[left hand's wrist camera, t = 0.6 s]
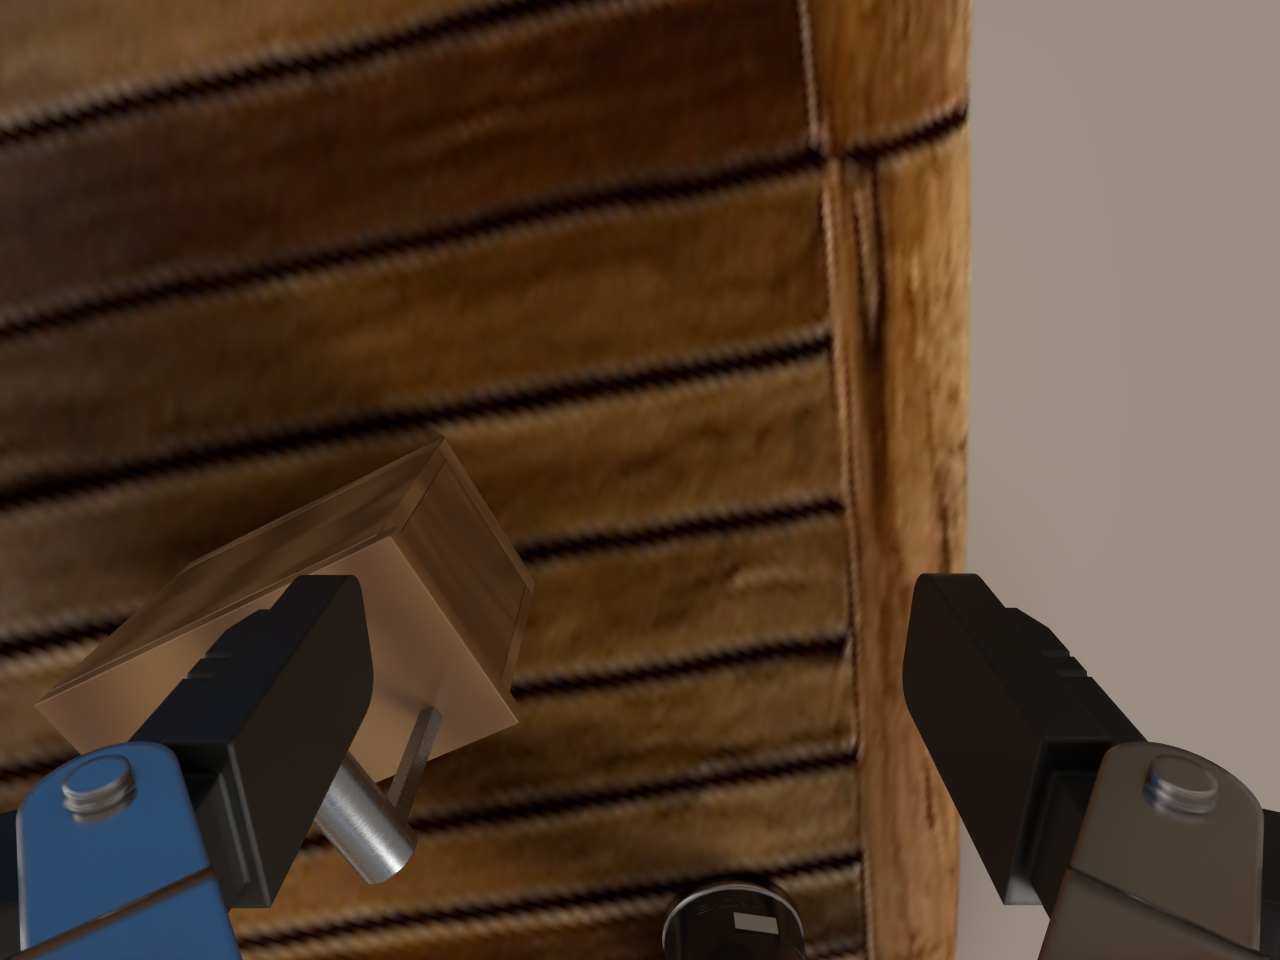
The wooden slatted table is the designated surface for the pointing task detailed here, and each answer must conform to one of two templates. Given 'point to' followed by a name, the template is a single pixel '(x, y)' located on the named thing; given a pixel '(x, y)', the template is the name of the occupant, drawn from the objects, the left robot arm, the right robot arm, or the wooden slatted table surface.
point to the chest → (388, 497)
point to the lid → (396, 718)
